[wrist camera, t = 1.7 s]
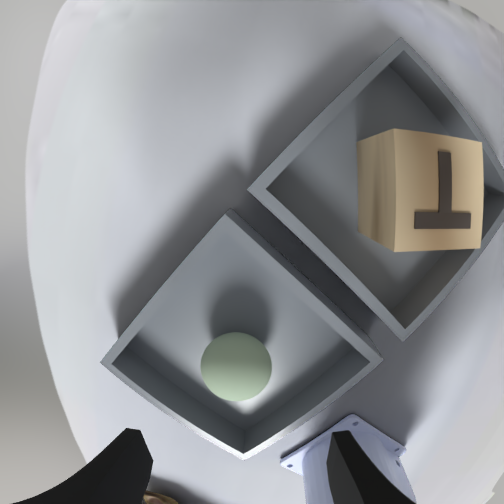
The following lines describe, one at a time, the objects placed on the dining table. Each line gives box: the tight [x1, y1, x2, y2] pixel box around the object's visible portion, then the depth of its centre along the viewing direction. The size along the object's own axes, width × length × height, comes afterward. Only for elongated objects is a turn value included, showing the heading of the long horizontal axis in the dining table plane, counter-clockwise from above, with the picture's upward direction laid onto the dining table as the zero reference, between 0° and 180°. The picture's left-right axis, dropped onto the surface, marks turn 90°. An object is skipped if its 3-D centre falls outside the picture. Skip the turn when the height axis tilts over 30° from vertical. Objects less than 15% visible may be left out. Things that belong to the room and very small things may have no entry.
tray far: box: [100, 209, 383, 461], centre depth 17 cm, size 12×12×3 cm
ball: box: [200, 332, 272, 401], centre depth 16 cm, size 4×4×4 cm
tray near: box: [247, 38, 504, 342], centre depth 15 cm, size 12×12×3 cm
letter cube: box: [356, 128, 484, 252], centre depth 13 cm, size 5×5×5 cm
